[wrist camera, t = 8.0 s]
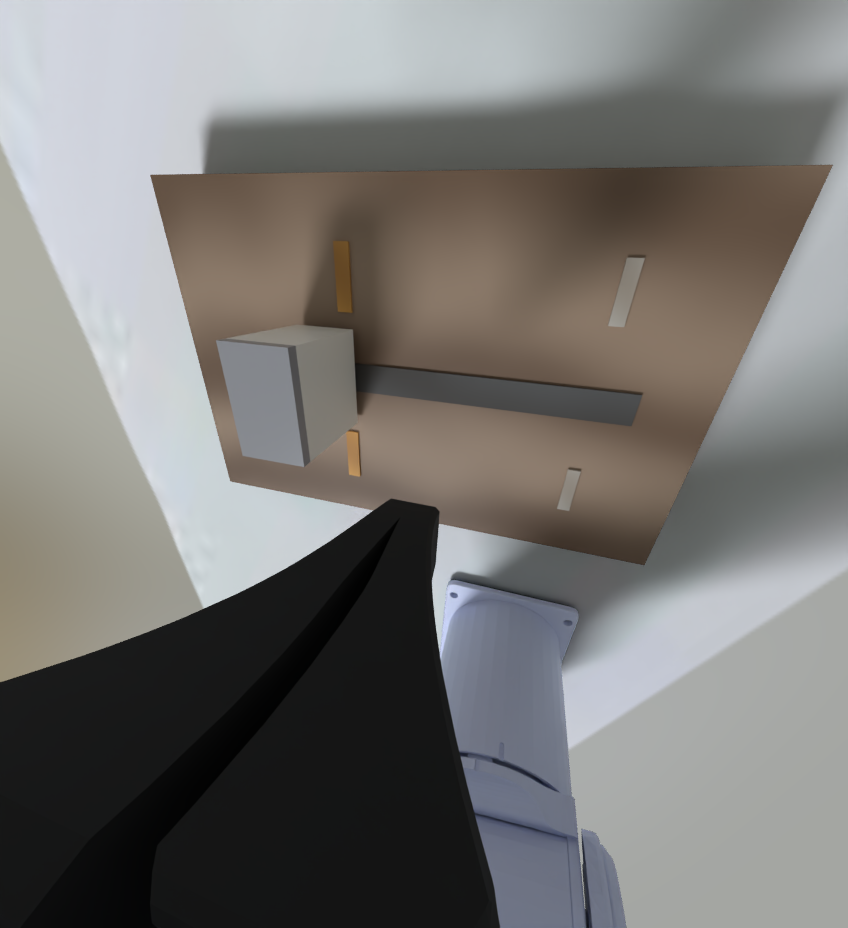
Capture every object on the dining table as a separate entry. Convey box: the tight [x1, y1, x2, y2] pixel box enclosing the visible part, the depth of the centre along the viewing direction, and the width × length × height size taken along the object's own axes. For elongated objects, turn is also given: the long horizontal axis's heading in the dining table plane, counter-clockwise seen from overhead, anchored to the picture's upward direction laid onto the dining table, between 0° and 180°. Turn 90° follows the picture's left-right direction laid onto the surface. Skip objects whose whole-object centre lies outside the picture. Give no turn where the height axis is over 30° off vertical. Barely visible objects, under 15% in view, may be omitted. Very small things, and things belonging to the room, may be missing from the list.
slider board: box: [150, 165, 833, 565], centre depth 16 cm, size 14×22×3 cm, turn 87°
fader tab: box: [216, 325, 358, 467], centre depth 13 cm, size 4×2×4 cm, turn 177°
